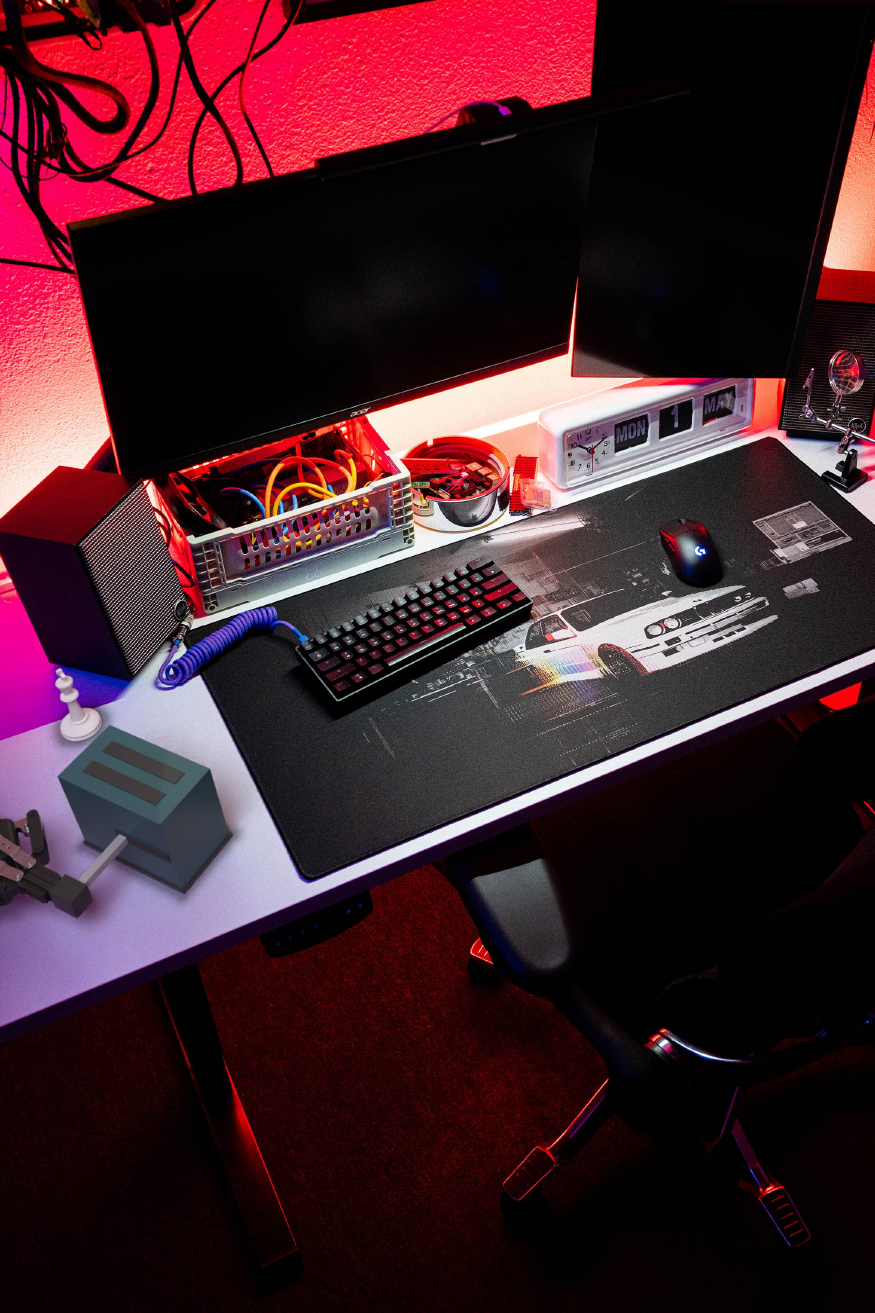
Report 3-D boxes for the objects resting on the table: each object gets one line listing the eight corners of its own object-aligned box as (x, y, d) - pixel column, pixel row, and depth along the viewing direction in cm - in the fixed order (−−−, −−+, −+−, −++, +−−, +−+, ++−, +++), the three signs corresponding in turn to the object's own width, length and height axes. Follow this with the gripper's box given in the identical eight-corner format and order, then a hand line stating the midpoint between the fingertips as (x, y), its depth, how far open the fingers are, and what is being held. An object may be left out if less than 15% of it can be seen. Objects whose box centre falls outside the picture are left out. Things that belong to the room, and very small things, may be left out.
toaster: (184, 894, 122) (160, 826, 114) (83, 845, 127) (53, 776, 119) (233, 836, 128) (212, 767, 120) (134, 790, 133) (109, 722, 125)
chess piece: (74, 747, 138) (51, 691, 132) (53, 727, 141) (29, 671, 134) (109, 724, 141) (89, 668, 134) (88, 705, 143) (67, 649, 137)
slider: (77, 919, 115) (70, 903, 113) (55, 907, 116) (47, 892, 114) (137, 851, 121) (131, 835, 119) (116, 841, 122) (110, 825, 120)
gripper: (-127, 856, 115) (-2, 924, 109) (-26, 764, 124) (94, 821, 118) (-100, 898, 120) (21, 965, 113) (-5, 806, 129) (112, 864, 123)
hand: (58, 892), depth 116 cm, fingers closed
